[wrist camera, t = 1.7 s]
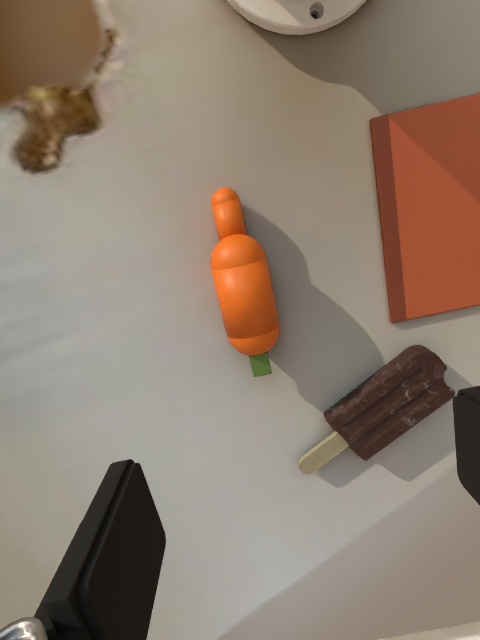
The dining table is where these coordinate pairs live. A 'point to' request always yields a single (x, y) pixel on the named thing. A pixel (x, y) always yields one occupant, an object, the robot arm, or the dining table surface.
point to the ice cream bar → (383, 407)
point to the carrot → (243, 284)
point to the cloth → (429, 206)
